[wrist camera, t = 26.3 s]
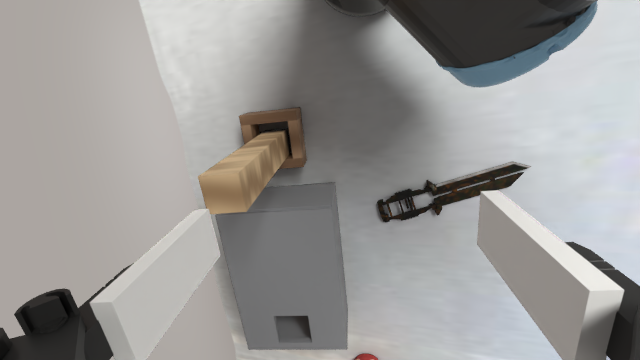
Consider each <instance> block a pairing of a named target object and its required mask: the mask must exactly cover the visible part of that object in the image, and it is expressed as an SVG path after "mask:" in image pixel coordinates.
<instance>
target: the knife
mask: <svg viewBox="0 0 640 360" xmlns="http://www.w3.org/2000/svg"><path fill="white" fill-rule="evenodd" d="M529 167H531V166H527V165H523V164H520V163H516V162H510V163H506V164H503V165H500V166H496V167H493V168H490V169H486V170H483V171H480V172H477V173H473V174H470V175H467V176H463V177H460V178H457V179H453V180H450V181H447V182H443V183H440V184H437V185H435V184H433V183H431V182H429V181H428V180H427V185H428V186H426V188H424V189H425V190H415V191H412V190H411V189H408V190H405V191H402V192H398V193H395V195H394V196H391V198H390V199H388V200H387V201H386V202H383V199H382V200H379V201H378V202H377V204H378V208H379V211H380V214H381V217H382V219H383V221H384V222H388V221H390V220H391V219H401V220H406V219H409V218H412V217H415V216H418V215H419V214H421V213H424V212H426V211H428V210H429V209H430V208H432V209H433V210H435V212H436V214H437V215H439V214H440V212H441V210H442V206H443V205H446V204H450V203H453V202H457V201H460V200H464V199H467V198H471V197H474V196H478V195H480V194H481V191H495V190H499V189H502V188H506V187H509V186H511V185H512V184H513V183H514V182H515V181H516V180H517V179H518V178H519V177H520V176H521V175H522V174H523V173H524V172H521V173H517V174H514V175H510V176H507V177H503V178H500V179H497V180H495V178H496V177H500V176H503V175H506V174H510V173H513V172H517V171H520V170H523V169H527V168H529ZM489 179H490V180H491V181H490V182H486V183H483V184H479V185H476V186H473V187H469V188H466V189H462V190H459V191H457V189H459V188H462V187H466V186H469V185H472V184H476V183H479V182H483V181H486V180H489ZM431 191H432V195H433V196H435V195H438V194H442V193H445V192H449V191H452V193H449V194H445V195H442V196H438V197H437V198H434V202H435V203H433V204H431V203H430V204H429V206H427V207H424V208H420V209H417V210H416V208H415V205H414V201H413V198H412V196H416V195H419V194H423V193H426V192H431ZM409 197H410V198H411V201H412V204H413V207H414V210H413V209H412V206H411V203H410V200H409ZM406 198H407V199H408V202H409V205H410V208H411V211H408V212H405V213H404V211H403V208H402V205H401V202H400V200H403V199H405V203H406V206H407V208H409V207H408V204H407V200H406ZM396 201H399V204H400V207H401V210H402V213H403V214H399V215H396V216H392V213H391V210H390V207H389V203H392V202H396ZM386 204H387V207H388V210H389V213H390V216H391V217H388V214H385V212H384V209H383V206H382V205H386Z"/></svg>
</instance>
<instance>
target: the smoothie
mask: <svg viewBox="0 0 640 360" xmlns="http://www.w3.org/2000/svg"><path fill="white" fill-rule="evenodd" d="M354 360H378V359H377V358H376V357H375V356H373V355H371V354H361V355H359V356H357V357H356V358H355V359H354Z"/></svg>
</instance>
